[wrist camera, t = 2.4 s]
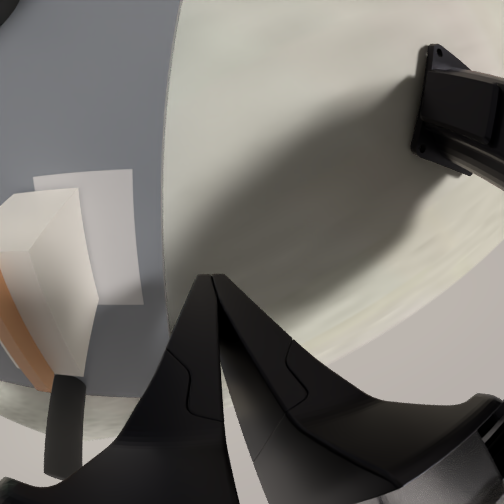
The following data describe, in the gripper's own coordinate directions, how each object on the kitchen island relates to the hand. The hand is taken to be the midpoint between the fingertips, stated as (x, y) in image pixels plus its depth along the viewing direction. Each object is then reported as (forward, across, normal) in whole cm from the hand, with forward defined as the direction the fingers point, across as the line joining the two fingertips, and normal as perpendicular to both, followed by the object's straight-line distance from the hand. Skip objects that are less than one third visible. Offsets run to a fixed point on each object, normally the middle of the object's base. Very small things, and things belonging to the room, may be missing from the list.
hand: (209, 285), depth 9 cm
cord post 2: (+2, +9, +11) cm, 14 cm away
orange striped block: (+2, +6, 0) cm, 6 cm away
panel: (+4, +10, 0) cm, 11 cm away
